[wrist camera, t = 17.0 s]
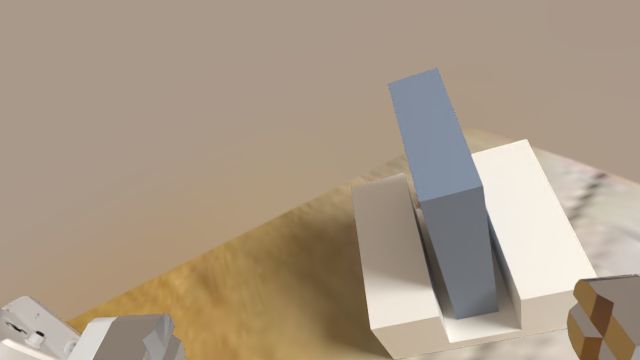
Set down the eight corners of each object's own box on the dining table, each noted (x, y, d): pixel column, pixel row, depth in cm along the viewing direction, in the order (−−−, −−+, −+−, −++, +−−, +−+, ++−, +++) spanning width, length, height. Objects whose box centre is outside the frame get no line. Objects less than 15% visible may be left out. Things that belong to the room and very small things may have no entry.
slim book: (457, 319, 33) (418, 202, 21) (429, 220, 39) (387, 83, 27) (498, 311, 32) (483, 185, 20) (464, 211, 38) (437, 67, 26)
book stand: (394, 359, 34) (370, 329, 29) (372, 229, 42) (350, 187, 37) (588, 324, 31) (601, 284, 26) (526, 190, 39) (526, 139, 33)
